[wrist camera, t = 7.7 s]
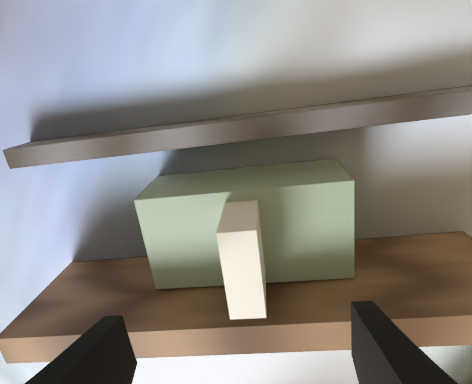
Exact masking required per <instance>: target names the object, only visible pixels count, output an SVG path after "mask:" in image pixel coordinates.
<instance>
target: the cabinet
mask: <svg viewBox="0 0 472 384" xmlns="http://www.w3.org/2000/svg"><path fill="white" fill-rule="evenodd" d="M354 185H355V180H354V179H353V178H352V177H351V176H350V175H349V173H348V172H347V171H346V170H345V169H344V167H343V166H342V165H341V164H340V163H339V162H338V160H337V159H336V158H334V159H324V160H314V161H304V162H294V163H283V164H273V165H263V166H253V167H243V168H233V169H223V170H213V171H203V172H193V173H183V174H172V175H162V176H158V177H157V178H156V179H155V180H154V181H153V182H152V183H151V184H150V185H149V186H148V187H147V188H146V189H145V190H144V191H143V192H142V193H141V194H140V195H139V196H138V197H137V198H136V199H135V200H134V203H135V207H136V211H137V215H138V219H139V223H140V227H141V231H142V235H143V239H144V243H145V247H146V251H147V255H148V259H149V263H150V267H151V271H152V275H153V279H154V283H155V287H156V289H170V288H188V287H205V286H223V285H224V286H225V292H226V298H227V304H228V310H229V316H230V320H231V319H253V318H266V283H275V282H293V281H311V280H328V279H346V278H354Z"/></svg>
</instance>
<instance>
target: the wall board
mask: <svg viewBox="0 0 472 384" xmlns="http://www.w3.org/2000/svg"><path fill="white" fill-rule="evenodd" d="M470 114H472V86H466V87H458V88H450V89H442V90H434V91H426V92H419V93H411V94H403V95H395V96H387V97H379V98H372V99H364V100H356V101H348V102H340V103H332V104H325V105H317V106H309V107H301V108H293V109H285V110H278V111H270V112H262V113H254V114H246V115H238V116H231V117H223V118H215V119H207V120H199V121H191V122H184V123H176V124H168V125H160V126H152V127H144V128H137V129H129V130H121V131H113V132H105V133H98V134H90V135H82V136H74V137H66V138H58V139H51V140H43V141H35V142H28V143H25V144H22V145H18V146H15V147H12V148H8V149H5V150H3V152H4V155H5V157H6V160H7V163H8V165H9V168H10V169H12V168H21V167H29V166H38V165H46V164H54V163H63V162H71V161H80V160H88V159H97V158H105V157H114V156H122V155H131V154H139V153H148V152H156V151H165V150H173V149H182V148H190V147H199V146H207V145H215V144H224V143H232V142H241V141H249V140H258V139H266V138H275V137H283V136H292V135H300V134H309V133H317V132H326V131H334V130H343V129H351V128H359V127H368V126H376V125H385V124H393V123H402V122H410V121H419V120H427V119H436V118H444V117H453V116H461V115H470ZM371 300H372V301H373V302H374V303H376V304H377V305H378V306H379V308H380V309H381V310H382V311H383V312H384V313H385V314H386V315H387V316H388V317H389V318H390V319H391V320H392V321H393V322H394V323H395V325H396V326H397V327H398V328H399V329H400V330H401V331H402V332H403V333H404V334H405V335H406V336H407V337H408V338H409V339H410V340H411V341H412V342H413V343H414V344H415V345H416V346H418V347H428V346H453V345H472V238H471V237H470V236H469V235H467V234H466V233H465V232H451V233H439V234H426V235H413V236H400V237H388V238H375V239H362V240H354V278H346V279H328V280H311V281H293V282H275V283H266V318H253V319H231V320H230V316H229V310H228V304H227V298H226V292H225V286H224V285H223V286H205V287H188V288H170V289H156V287H155V283H154V279H153V275H152V271H151V267H150V263H149V259H148V256H146V257H133V258H120V259H108V260H95V261H82V262H71V263H70V264H69V265H68V266H67V267H66V268H65V269H64V270H63V271H62V272H61V273H60V274H59V275H58V276H57V277H56V278H55V279H54V280H53V281H52V282H51V283H50V284H49V285H48V286H47V287H46V288H45V289H44V290H43V291H42V292H41V293H40V294H39V295H38V296H37V297H36V298H35V299H34V300H33V301H32V302H31V303H30V304H29V305H28V306H27V307H26V308H25V309H24V310H23V311H22V312H21V313H20V314H19V315H18V316H17V317H16V318H15V319H14V320H13V321H12V322H11V323H10V324H9V325H8V326H7V327H6V328H5V329H4V330H3V331H2V332H1V333H0V351H1V353H2V355H3V357H4V359H5V361H6V363H28V362H51V361H53V360H54V359H55V358H56V357H57V356H58V355H60V354H61V353H62V352H63V351H64V350H65V349H66V348H68V347H69V346H70V345H71V344H72V343H73V342H74V341H76V340H77V339H78V338H79V337H80V336H81V335H83V334H84V333H85V332H86V331H87V330H88V329H89V328H91V327H92V326H93V325H94V324H95V323H97V322H98V321H99V320H100V319H102V318H103V317H104V316H116V315H122V316H123V319H124V323H125V326H126V329H127V332H128V335H129V339H130V342H131V345H132V348H133V351H134V354H135V358H153V357H178V356H203V355H228V354H253V353H278V352H303V351H328V350H352V347H351V302H354V301H371Z"/></svg>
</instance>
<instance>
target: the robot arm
mask: <svg viewBox="0 0 472 384" xmlns="http://www.w3.org/2000/svg"><path fill="white" fill-rule="evenodd" d="M351 347H352V358H353V362H354V366H355V370H356V374H357V377H358V381H359V384H458V383H457V382H456V381H454V380H453V379H452V378H451V377H450V376H449V375H448V374H446V373H445V372H444V371H443V370H442V369H441V368H440V367H439V366H438V365H437V364H435V363H434V362H433V361H432V360H431V359H430V358H429V357H428V356H427V355H426V354H425V353H424V352H423V351H422V350H421V349H420V348H419V347H418V346H416V345H415V344H414V343H413V342H412V341H411V340H410V339H409V338H408V337H407V336H406V335H405V334H404V333H403V332H402V331H401V330H400V329H399V328H398V327H397V326H396V325H395V323H394V322H393V321H392V320H391V319H390V318H389V317H388V316H387V315H386V314H385V313H384V312H383V311H382V310H381V309H380V308H379V306H378V305H377V304H376V303H374V302H373V301H372V300H371V301H354V302H351ZM136 365H137V361H136V358H135V354H134V351H133V348H132V345H131V342H130V339H129V335H128V332H127V329H126V326H125V323H124V319H123V316H122V315H116V316H104V317H103V318H102V319H100V320H99V321H98V322H97V323H95V324H94V325H93V326H92V327H91V328H89V329H88V330H87V331H86V332H85V333H84V334H83V335H81V336H80V337H79V338H78V339H77V340H76V341H74V342H73V343H72V344H71V345H70V346H69V347H68V348H66V349H65V350H64V351H63V352H62V353H61V354H60V355H58V356H57V357H56V358H55V359H54V360H53V361H51V362H50V363H49V364H48V365H47V366H46V367H44V368H43V369H42V370H41V371H40V372H38V373H37V374H36V375H35V376H34V377H32V378H31V379H30V380H29V381H27V382H26V383H25V384H132V380H133V377H134V373H135V369H136Z"/></svg>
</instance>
